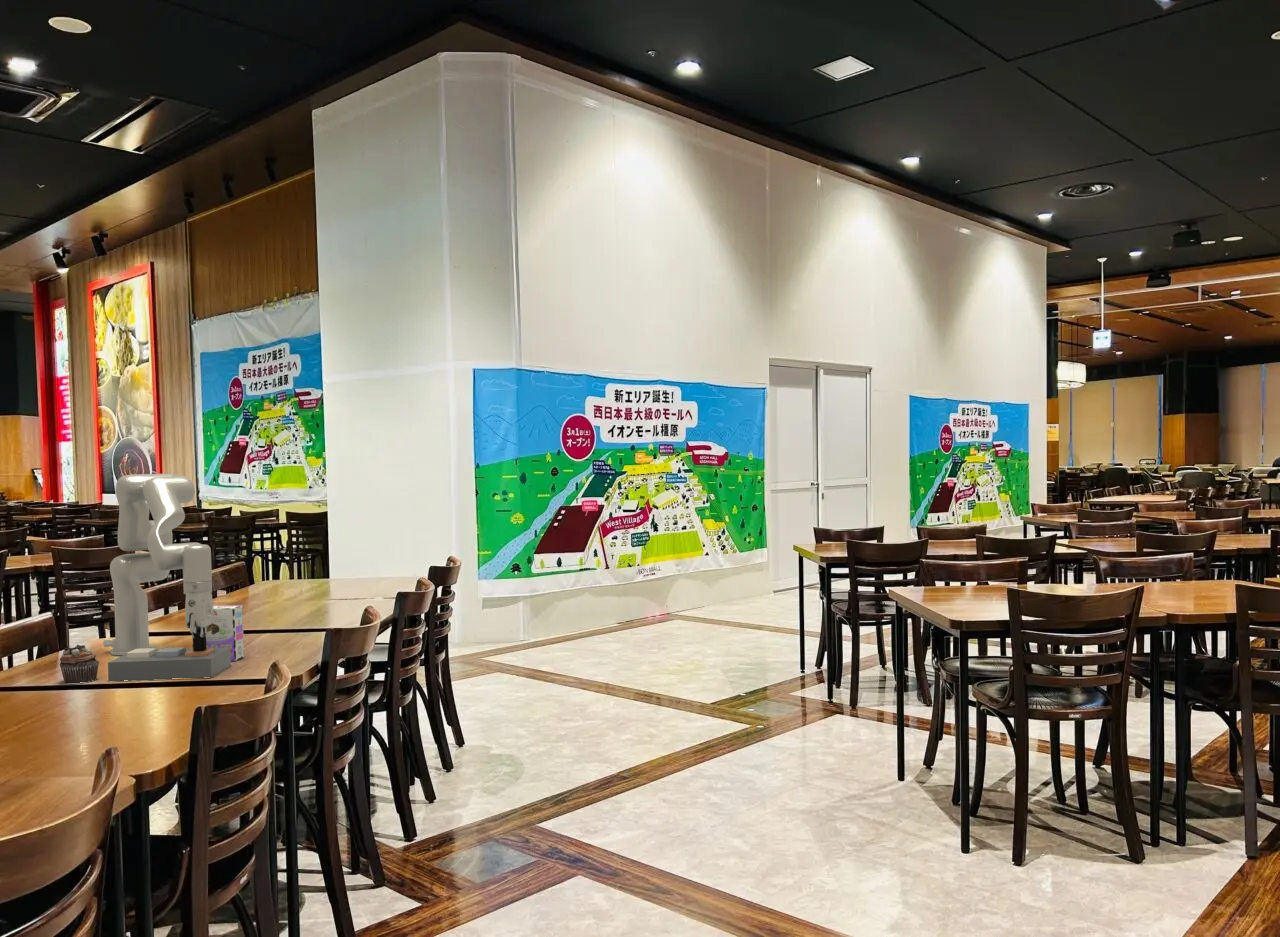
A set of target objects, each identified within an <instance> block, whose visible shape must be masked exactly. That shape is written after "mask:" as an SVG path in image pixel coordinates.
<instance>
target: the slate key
mask: <svg viewBox="0 0 1280 937" xmlns="http://www.w3.org/2000/svg"><path fill="white" fill-rule="evenodd" d="M186 649H187V648H186V646H179V647H163V648H162V649H158V650H159V651H157V652H156V657H179V656H181V655H182V654H184V653H186Z"/></svg>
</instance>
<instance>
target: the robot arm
mask: <svg viewBox="0 0 1280 937" xmlns="http://www.w3.org/2000/svg"><path fill="white" fill-rule="evenodd" d="M195 494H196V489H195V486H194V483H193V481H192V480H191V479H190V478H189V477H188V476H186V475H181V474H177V473H138V474H137V473H136V474H126V475H123V476H121V477H119V478H118V479H117V481H116V484H115V496H116V499H117V500H116V501H117V502H118V510H119V513H118V525H117V526H118V527H117V546H118V548H119V549H120V550H122V551H123V552H124V551H125V552H137V553H126V554H121V555H118V556H116V557H114V558H113V559H112V560H111V561H110V564H109V572H110V577H111V581H112V587H113V599H114V600H113V601H114V602H113V604H114V627H115V628H114V631H115V635H114V636H115V637H114V638H113V639H112V640H111V639H104V640H103V643H102V645H103V647H104V648H106V647H107V648H109V647H111V648H112V649H110V651H109V652H110V655H112V656H123V655H125V654H127V653H128V652H130V651H132V650H134V649H143V648H155V645H153V644H150V638H149V636H150V634H149V632H150V631H149V630H150V629H149V602H148V601H149V599H148V594H147V592H146V591H145V589H143V588H142V587H141V586H140V584H141V583H142V584H143V583H149V582H158V581H163V580H165V579H167V577H168V576H169V574H170V571H173V570H174V571H175V570H181V569H182V579H183V580H182V581H183V586H182V588H183V595H185V602H184V603H185V604H184V605H185V606H184V612H185V614H184V620H185V627H186V628H187V629H189V632H190V634H191V637H192V649H193V651H194V652H195V651H205V650H206V649H207V647H206V633H207V627H208V626H209V625H211V624H212V623H213V622H214V610H213V606H214V602H213V595H212V592H213V574H212V550H211V549H212V548H211V547H210V546H209V545H208V544H201V542H183V543H181V542H180V543H173V529H176V528H177V527H179V526H180V525H182V523H184V521H185V519H186V513H185V511H184V508H183V507H182V506H183V505H182V504H187V503H190V502H192V501H194V498H195V496H196V495H195ZM150 514H151V516H152V519H153V520H152V519H151V520H150ZM140 551H148V552H140Z"/></svg>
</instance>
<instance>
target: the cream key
mask: <svg viewBox="0 0 1280 937" xmlns="http://www.w3.org/2000/svg"><path fill="white" fill-rule="evenodd" d="M158 650H159V649H158V647H154V648H143V649H134V650H132V651H130V652H128V653H127V658H150V657H152V656H154V655H156V652H157V651H158Z"/></svg>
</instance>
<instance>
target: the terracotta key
mask: <svg viewBox="0 0 1280 937" xmlns="http://www.w3.org/2000/svg"><path fill="white" fill-rule="evenodd" d="M191 649H192V650H190V651H188V652H186V653H185V656H207V655H209V654H211V653H213V652H214V648H208V649H206V650H205V651H195V652H194V651H193V648H191Z"/></svg>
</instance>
